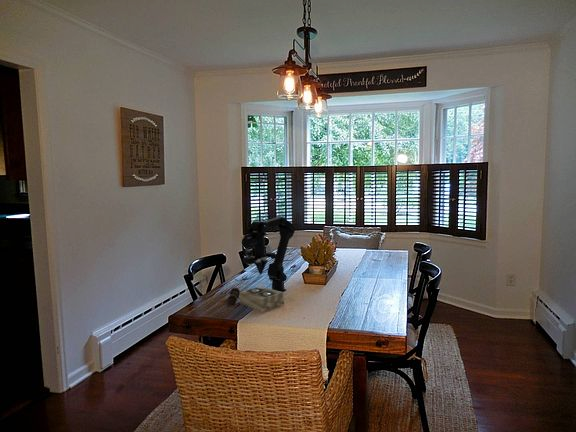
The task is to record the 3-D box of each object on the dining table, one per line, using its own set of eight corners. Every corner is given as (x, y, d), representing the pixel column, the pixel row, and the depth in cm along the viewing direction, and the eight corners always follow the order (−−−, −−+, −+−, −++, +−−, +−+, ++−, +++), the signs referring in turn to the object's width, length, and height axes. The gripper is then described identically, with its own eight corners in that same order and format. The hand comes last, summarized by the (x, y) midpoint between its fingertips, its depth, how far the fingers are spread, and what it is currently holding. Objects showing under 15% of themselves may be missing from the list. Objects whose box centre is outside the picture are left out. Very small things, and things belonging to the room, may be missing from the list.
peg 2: (267, 302, 213) (267, 291, 212) (273, 304, 210) (272, 293, 210) (261, 304, 210) (261, 293, 210) (267, 306, 207) (266, 295, 207)
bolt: (230, 309, 213) (234, 298, 228) (238, 304, 213) (242, 294, 228) (223, 299, 212) (228, 290, 227) (232, 294, 212) (236, 285, 227)
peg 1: (256, 299, 219) (255, 288, 219) (261, 300, 217) (260, 289, 216) (250, 301, 217) (249, 290, 216) (255, 302, 214) (254, 291, 213)
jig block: (260, 297, 225) (260, 285, 224) (283, 303, 212) (283, 291, 211) (239, 303, 215) (239, 291, 214) (262, 311, 202) (262, 298, 202)
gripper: (262, 240, 233) (264, 268, 235) (235, 246, 220) (237, 275, 222) (276, 242, 225) (277, 271, 227) (249, 248, 212) (250, 278, 214)
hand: (260, 273), depth 223 cm, fingers closed
